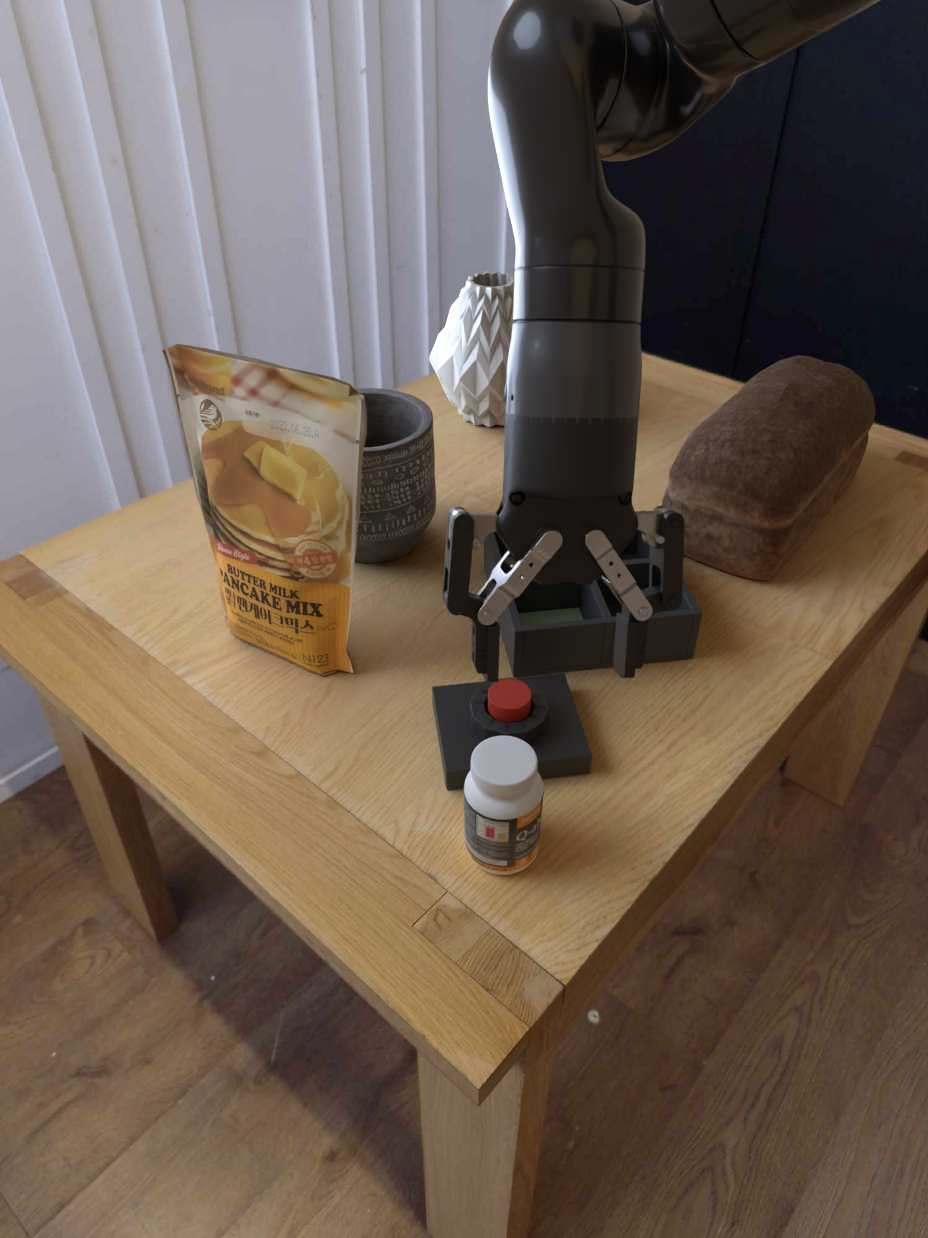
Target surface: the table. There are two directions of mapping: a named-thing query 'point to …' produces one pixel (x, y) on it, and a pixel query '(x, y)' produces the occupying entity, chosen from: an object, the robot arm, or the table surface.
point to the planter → (395, 475)
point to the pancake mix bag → (276, 497)
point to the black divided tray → (586, 620)
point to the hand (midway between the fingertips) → (557, 676)
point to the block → (511, 727)
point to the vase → (477, 348)
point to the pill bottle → (503, 805)
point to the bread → (770, 464)
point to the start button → (509, 701)
